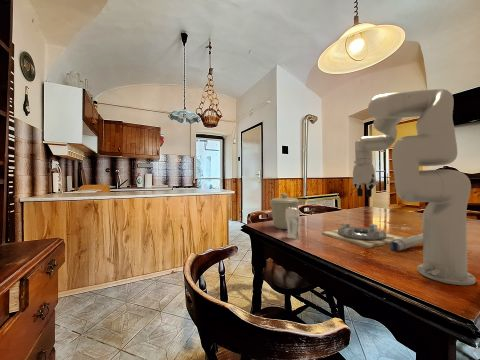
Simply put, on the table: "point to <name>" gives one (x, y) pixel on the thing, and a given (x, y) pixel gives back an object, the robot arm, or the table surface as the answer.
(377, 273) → the table surface
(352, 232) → the ring nut
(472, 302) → the table surface
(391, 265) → the table surface
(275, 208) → the canister
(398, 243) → the grey flashlight
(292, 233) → the beer glass
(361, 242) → the nut board
